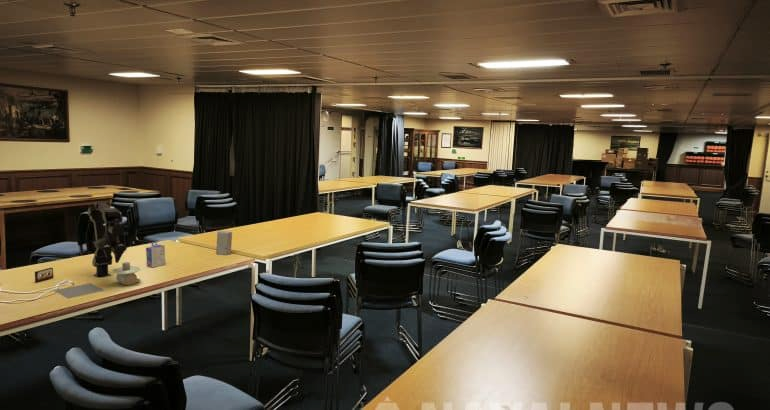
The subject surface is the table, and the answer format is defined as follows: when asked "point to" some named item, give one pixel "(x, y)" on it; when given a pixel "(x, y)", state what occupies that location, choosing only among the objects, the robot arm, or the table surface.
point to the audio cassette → (44, 275)
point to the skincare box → (224, 242)
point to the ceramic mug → (127, 278)
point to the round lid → (126, 269)
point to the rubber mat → (79, 290)
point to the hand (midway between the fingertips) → (112, 261)
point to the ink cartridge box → (155, 255)
